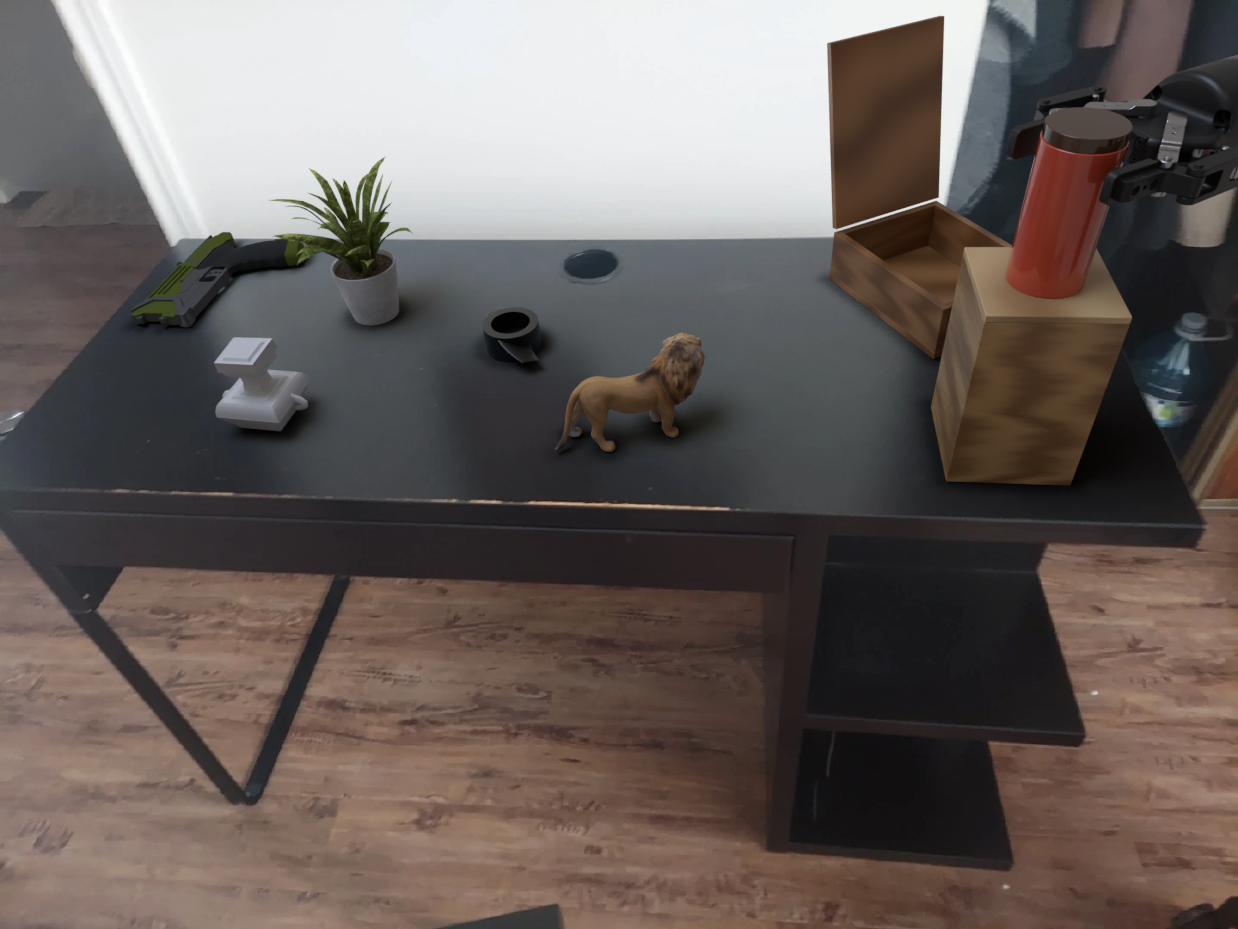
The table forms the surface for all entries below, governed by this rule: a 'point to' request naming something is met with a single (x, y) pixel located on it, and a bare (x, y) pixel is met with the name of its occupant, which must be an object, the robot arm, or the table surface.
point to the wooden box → (908, 268)
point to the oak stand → (1018, 394)
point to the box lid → (885, 119)
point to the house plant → (355, 249)
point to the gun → (209, 277)
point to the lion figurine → (638, 391)
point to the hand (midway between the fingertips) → (1056, 165)
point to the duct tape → (512, 334)
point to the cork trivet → (1013, 306)
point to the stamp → (258, 386)
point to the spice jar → (1066, 201)
